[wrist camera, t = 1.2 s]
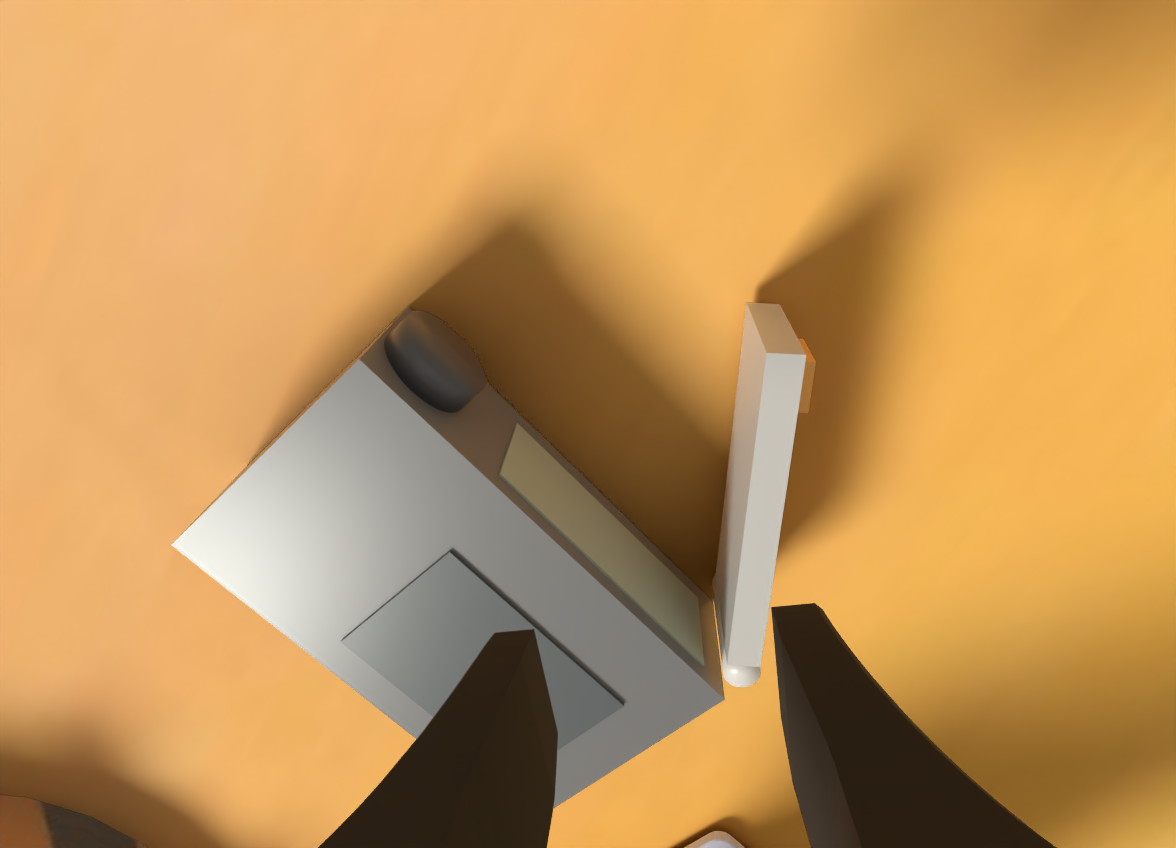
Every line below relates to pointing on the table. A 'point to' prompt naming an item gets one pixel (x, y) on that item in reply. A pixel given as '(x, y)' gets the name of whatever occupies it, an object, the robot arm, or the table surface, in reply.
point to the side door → (757, 483)
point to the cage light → (54, 827)
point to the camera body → (458, 556)
